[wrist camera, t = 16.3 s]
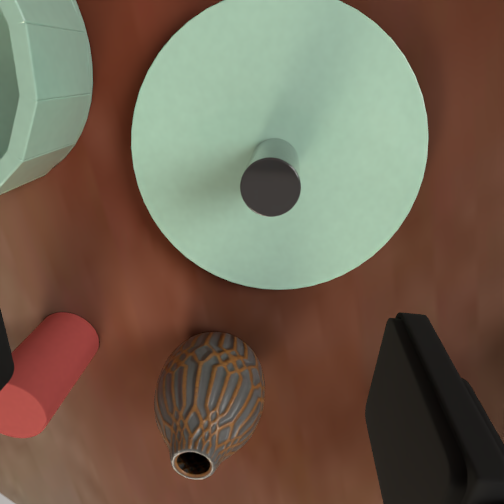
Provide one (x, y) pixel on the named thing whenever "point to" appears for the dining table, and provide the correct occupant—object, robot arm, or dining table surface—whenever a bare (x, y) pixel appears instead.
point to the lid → (279, 140)
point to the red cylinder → (45, 373)
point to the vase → (208, 401)
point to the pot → (41, 86)
